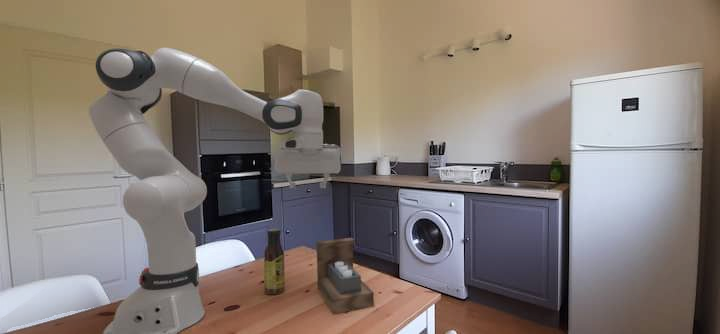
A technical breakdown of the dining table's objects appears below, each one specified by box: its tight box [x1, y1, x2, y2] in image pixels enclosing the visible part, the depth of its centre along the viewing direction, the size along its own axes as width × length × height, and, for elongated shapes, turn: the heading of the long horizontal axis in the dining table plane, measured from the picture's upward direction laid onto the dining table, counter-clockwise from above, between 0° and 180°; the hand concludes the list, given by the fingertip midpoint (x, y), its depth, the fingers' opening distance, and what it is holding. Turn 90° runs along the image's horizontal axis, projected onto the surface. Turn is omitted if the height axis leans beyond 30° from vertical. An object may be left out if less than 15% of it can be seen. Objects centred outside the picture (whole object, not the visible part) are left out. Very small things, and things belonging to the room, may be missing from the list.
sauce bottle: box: [263, 228, 286, 295], centre depth 104 cm, size 7×6×20 cm
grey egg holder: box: [328, 261, 362, 295], centre depth 99 cm, size 6×14×5 cm, turn 21°
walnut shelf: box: [316, 237, 375, 315], centre depth 99 cm, size 12×18×16 cm, turn 21°
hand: (307, 188), depth 100 cm, fingers open, 8 cm apart
